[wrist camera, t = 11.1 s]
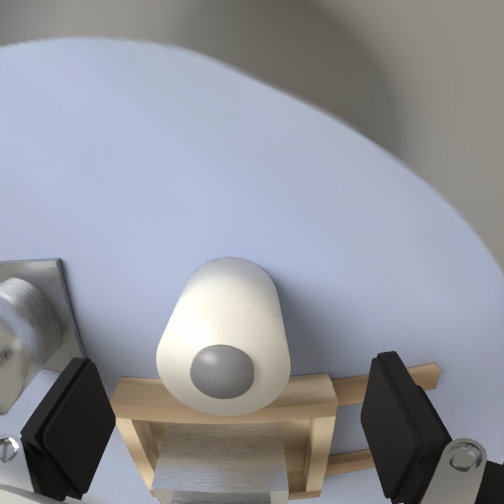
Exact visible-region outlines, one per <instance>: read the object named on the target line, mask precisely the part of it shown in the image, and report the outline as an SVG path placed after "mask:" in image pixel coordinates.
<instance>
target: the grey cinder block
mask: <svg viewBox="0 0 504 504" xmlns="http://www.w3.org/2000/svg"><path fill="white" fill-rule="evenodd" d="M151 488H152V490H153V491H154V493H155V495H156V497H157V499H158V501H159V502H160V504H288V493H289V488H288V479H287V470H286V461H285V452H284V443H283V434H282V425H281V422H266V423H240V424H199V423H173V422H168V423H167V427H166V431H165V434H164V438H163V442H162V446H161V450H160V454H159V458H158V462H157V466H156V470H155V474H154V478H153V482H152V486H151Z"/></svg>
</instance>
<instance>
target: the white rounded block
mask: <svg viewBox="0 0 504 504" xmlns="http://www.w3.org/2000/svg"><path fill="white" fill-rule="evenodd" d="M156 364H157V369H158V373H159V375H160V378H161V380H162V382H163V383H164V385H165V386H166V388H167V389H168V390H169V391H170V392H171V394H172V395H173V396H175V397H176V398H177V399H178V400H179V401H181V402H182V403H184V404H185V405H187V406H189V407H191V408H193V409H195V410H198V411H201V412H204V413H208V414H212V415H219V416H236V415H243V414H247V413H251V412H254V411H257V410H259V409H261V408H263V407H265V406H267V405H268V404H270V403H271V402H272V401H274V400H275V399H276V398H277V397H278V396H279V395H280V394H281V392H282V391H283V390H284V388H285V386H286V384H287V382H288V380H289V376H290V370H291V362H290V355H289V350H288V345H287V339H286V334H285V329H284V323H283V318H282V313H281V308H280V303H279V297H278V293H277V289H276V286H275V284H274V282H273V280H272V279H271V277H270V276H269V275H268V273H267V272H265V271H264V270H263V269H262V268H261V267H259V266H258V265H256V264H255V263H253V262H251V261H248V260H245V259H241V258H236V257H223V258H218V259H214V260H211V261H209V262H206V263H205V264H203V265H201V266H200V267H199V268H197V269H196V270H195V271H194V272H193V274H192V275H191V276H190V278H189V279H188V281H187V283H186V285H185V287H184V290H183V292H182V294H181V296H180V298H179V300H178V303H177V305H176V307H175V309H174V311H173V314H172V316H171V318H170V320H169V323H168V325H167V327H166V329H165V332H164V334H163V336H162V338H161V341H160V343H159V346H158V349H157V355H156Z"/></svg>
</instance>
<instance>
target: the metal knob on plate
mask: <svg viewBox="0 0 504 504" xmlns="http://www.w3.org/2000/svg"><path fill="white" fill-rule="evenodd" d="M74 357H80V358H86V355H85V352H84V349H83V346H82V343H81V340H80V337H79V333H78V330H77V327H76V323H75V320H74V316H73V313H72V309H71V305H70V301H69V297H68V293H67V289H66V285H65V281H64V277H63V272H62V268H61V263H60V258H56V259H38V260H19V261H1V262H0V415H5V414H7V413H8V411H9V410H10V409H11V407H12V406H13V405H14V404H15V402H16V401H17V400H18V398H19V397H20V396H21V394H22V393H23V392H24V391H25V389H26V388H27V387H28V385H29V384H30V383H31V382H32V380H33V379H34V378H35V377H36V375H37V374H38V373H39V372H40V370H41V369H48V370H55V371H62V372H63V370H64V369H65V368H66V366H67V365H68V364H69V362H70V361H71V360H72V359H73V358H74Z"/></svg>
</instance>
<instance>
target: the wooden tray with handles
mask: <svg viewBox="0 0 504 504" xmlns="http://www.w3.org/2000/svg"><path fill="white" fill-rule="evenodd" d="M406 369H407V370H408V372H409V374H410V375H411V377H412V379H413V380H414V382H415V384H416V385H419V386H421V387H422V388H423V390H424V391H425V390H429V389H433V388H435V387H436V384H437V381H438V378H439V375H440V372H441V370H440V369H439V367H438V366H437V365H436V363H430V364H426V365H421V366H416V367H411V368H406ZM368 378H369V375H363V376H355V377H348V378H340V379H330V376H329V373H321V374H311V375H299V376H289V380H288V382H287V384H286V386H285V388H284V390H283V391H282V392H281V394H280V395H279V396H278V397H277V398H276V399H275V400H274V401H272V402H271V403H270V404H268V405H267V406H265V407H263V408H261V409H259V410H257V411H254V412H251V413H247V414H243V415H236V416H219V415H212V414H208V413H204V412H201V411H198V410H195V409H193V408H191V407H189V406H187V405H185V404H184V403H182V402H181V401H179V400H178V399H177V398H176V397H175V396H173V395H172V394H171V392H170V391H169V390H168V389H167V388H166V386H165V385H164V383H163V382H162V380H161V379H158V378H138V377H122V376H121V378H120V380H119V382H118V384H117V386H116V388H115V390H114V392H113V394H112V396H111V398H110V400H109V402H110V404H111V407H112V409H113V412H114V414H115V417H116V424H117V427H118V429H119V431H120V433H121V436H122V438H123V440H124V442H125V444H126V446H127V448H128V450H129V453H130V455H131V457H132V459H133V461H134V463H135V465H136V467H137V469H138V470H139V472H140V474H141V476H142V478H143V480H144V482H145V484H146V485H147V487H148V489H149V491H150V493H151V494H152V496H153V497H156V495H155V493H154V491H153V490H152V488H151V486H152V482H153V478H154V474H155V470H156V466H157V462H158V458H159V454H160V450H161V446H162V442H163V438H164V434H165V431H166V427H167V423H168V422H173V423H199V424H240V423H266V422H281V425H282V434H283V443H284V452H285V461H286V470H287V479H288V488H289V493H288V500H295V499H305V498H313V497H320V494H321V490H322V485H323V481H324V476H326V475H333V474H339V473H345V472H351V471H357V470H362V469H367V468H372V467H375V463H374V460H373V457H372V454H371V451H370V449H368V450H362V451H357V452H351V453H345V454H339V455H332V456H329V452H330V447H331V441H332V436H333V430H334V424H335V418H336V412H337V406H345V405H352V404H358V403H363V402H364V397H365V393H366V388H367V383H368Z"/></svg>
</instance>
